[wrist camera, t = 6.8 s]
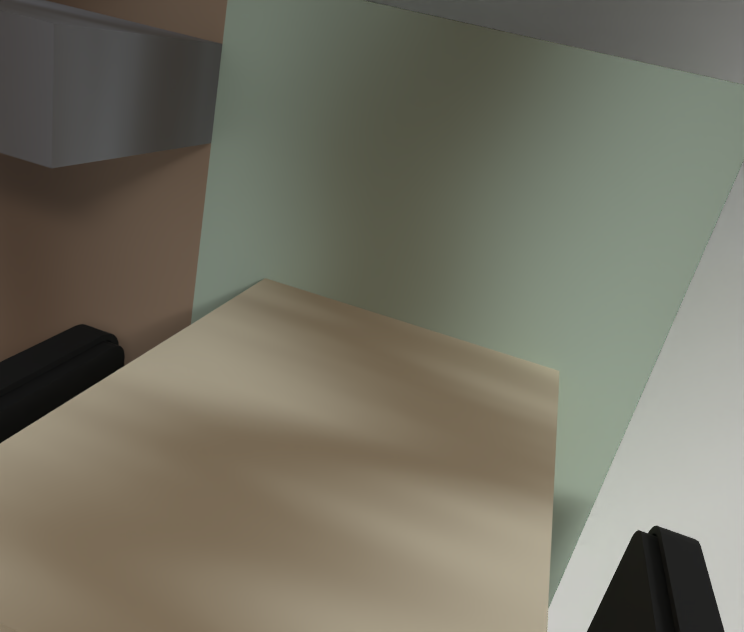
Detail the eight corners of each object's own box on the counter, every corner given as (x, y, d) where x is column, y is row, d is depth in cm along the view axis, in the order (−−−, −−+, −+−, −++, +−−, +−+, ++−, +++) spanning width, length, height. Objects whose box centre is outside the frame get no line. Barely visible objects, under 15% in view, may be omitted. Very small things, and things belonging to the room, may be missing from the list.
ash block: (559, 370, 10) (536, 871, 4) (472, 606, 12) (358, 1202, 6) (264, 277, 11) (-165, 546, 5) (229, 510, 13) (-109, 927, 6)
